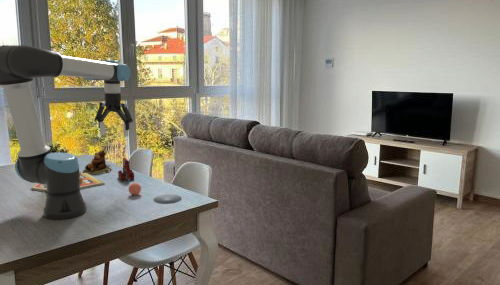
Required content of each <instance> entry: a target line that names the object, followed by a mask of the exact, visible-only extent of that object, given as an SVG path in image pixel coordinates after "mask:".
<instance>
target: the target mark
mask: <svg viewBox="0 0 500 285" xmlns="http://www.w3.org/2000/svg"><path fill="white" fill-rule="evenodd" d="M181 200H182V196H181V195H178V194H171V193H170V194H167V193H166V194H161V195H158V196H156V197H154V198H153V201H154V202H155V203H158V204H175V203H177V202H181Z"/></svg>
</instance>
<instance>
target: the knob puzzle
mask: <svg viewBox="0 0 500 285" xmlns="http://www.w3.org/2000/svg"><path fill="white" fill-rule="evenodd" d="M79 179H80V190H82V189H83V190H84V189H88V188H94V187H99V186H104V185H105V184H106V183H105V182H104V181H103V180H101V179H98V178H97V177H95V176H93V174H88V173H82V172H81V171H80V170H79ZM31 190H32V191H38V192H45V193H47V188H44V186H43V184H39V183H34V184H33V185H32V186H31Z"/></svg>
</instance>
